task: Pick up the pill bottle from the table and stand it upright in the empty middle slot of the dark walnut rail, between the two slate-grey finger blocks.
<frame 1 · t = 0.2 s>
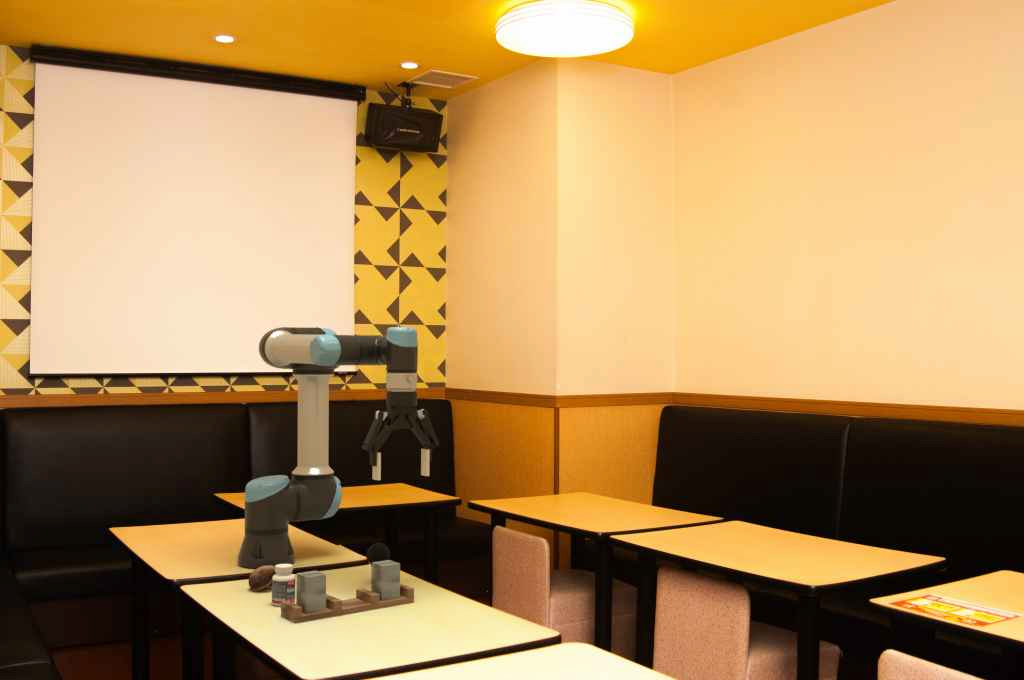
hand: (401, 477, 245), 28 cm above the table, fingers open, 13 cm apart
rail: (349, 608, 228), on the table
mushroom: (262, 590, 246), on the table
pill bottle: (283, 604, 232), on the table
black round piece: (378, 583, 253), on the table
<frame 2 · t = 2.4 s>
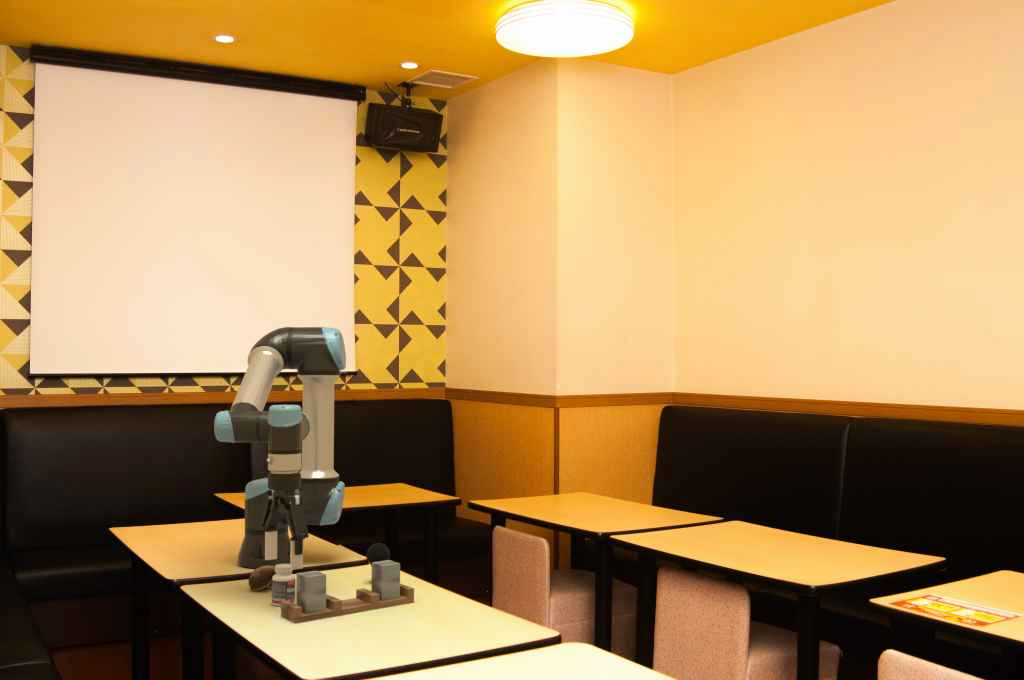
hand: (283, 564, 232), 9 cm above the table, fingers open, 13 cm apart
nothing on the table moved.
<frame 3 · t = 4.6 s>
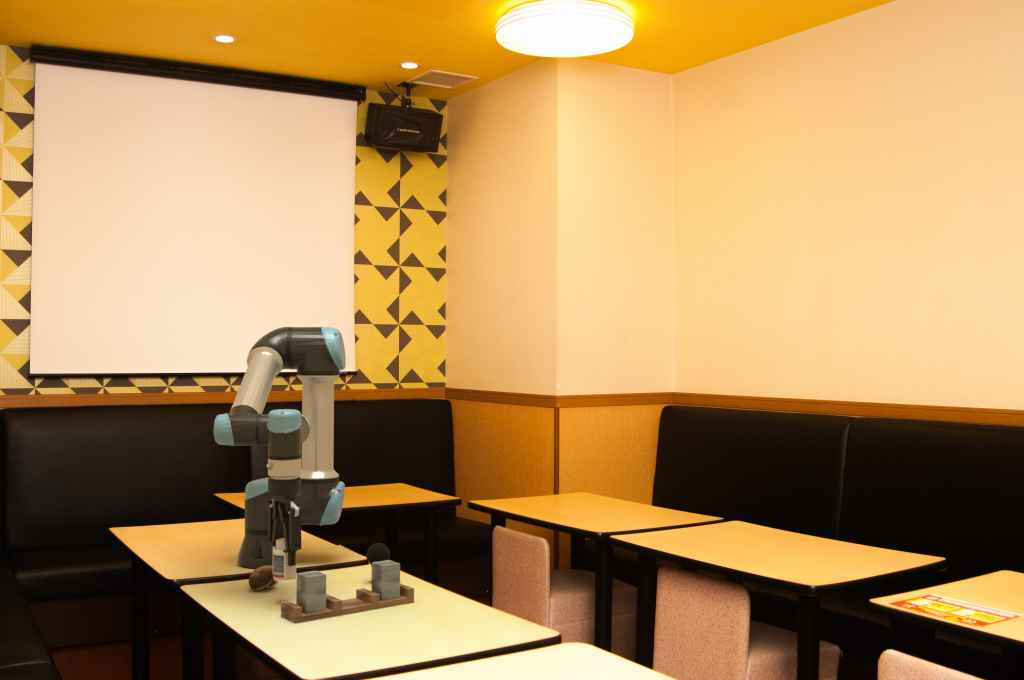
hand: (284, 576, 233), 6 cm above the table, fingers closed on pill bottle, 5 cm apart
pill bottle: (284, 578, 233), point 6 cm above the table, touching gripper
everything else where it was.
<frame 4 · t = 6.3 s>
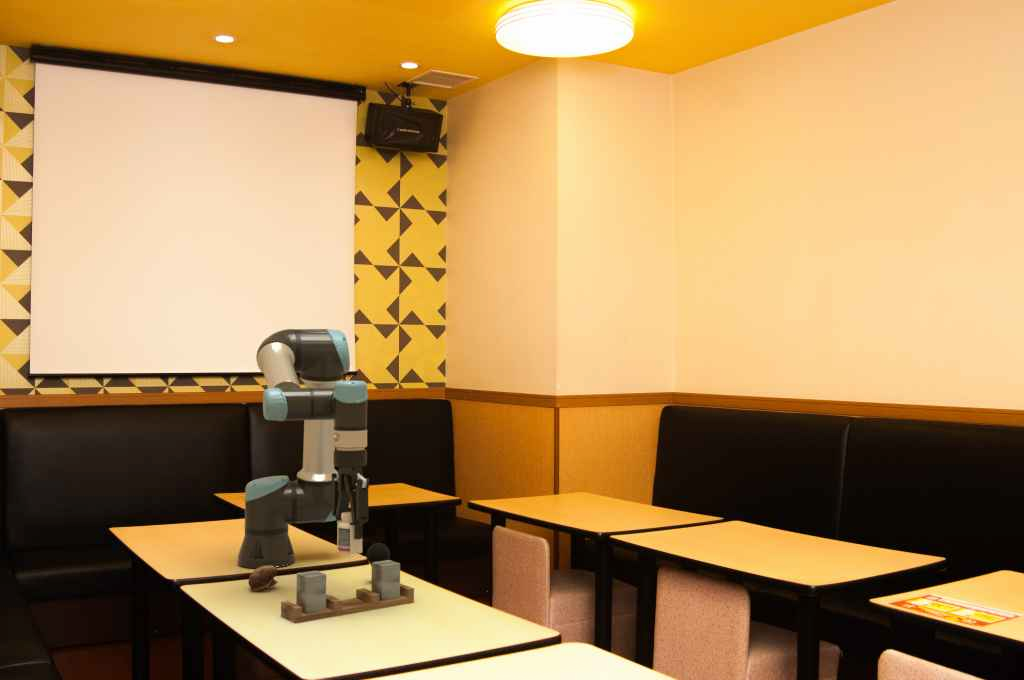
hand: (349, 550, 228), 13 cm above the table, fingers closed on pill bottle, 5 cm apart
pill bottle: (349, 553, 228), point 13 cm above the table, touching gripper
everything else where it was.
when the fingers open (2 cm above the table, at t = 8.5 s): pill bottle stays where it is, resting on rail.
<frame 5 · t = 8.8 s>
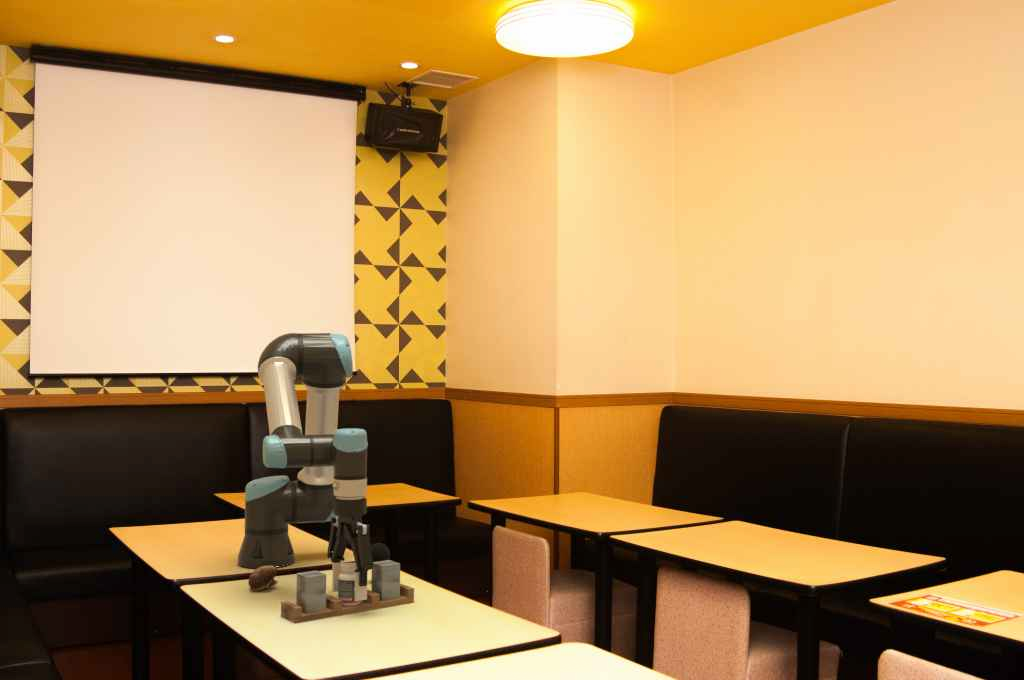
hand: (349, 595, 228), 3 cm above the table, fingers open, 10 cm apart
pill bottle: (349, 604, 228), point 1 cm above the table, touching rail
everything else where it was.
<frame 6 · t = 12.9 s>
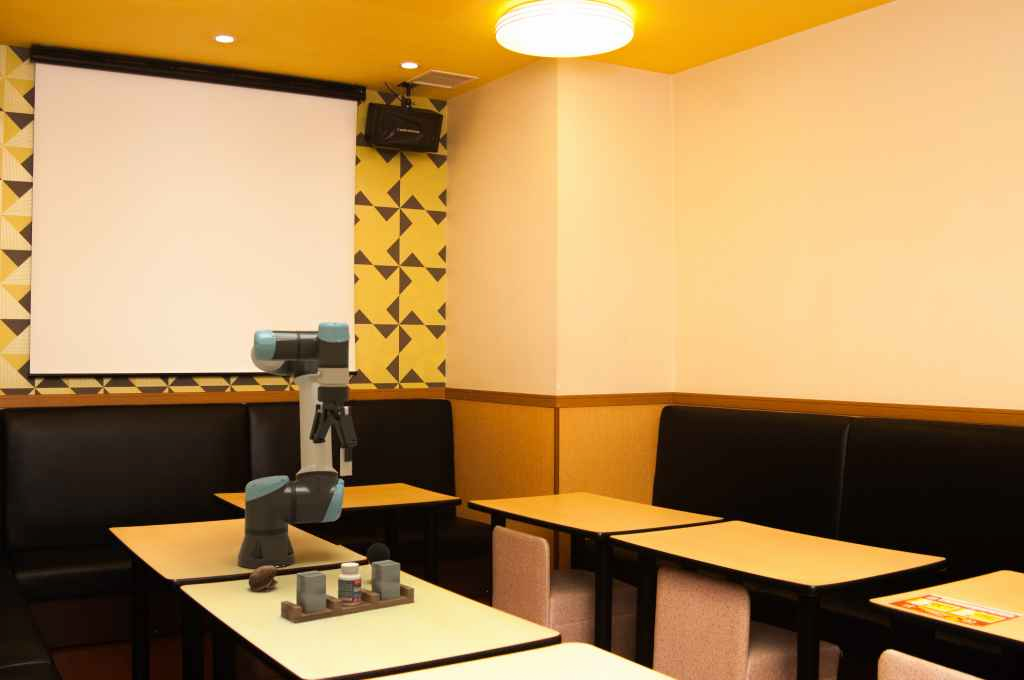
hand: (332, 472, 246), 29 cm above the table, fingers open, 13 cm apart
nothing on the table moved.
at the end: pill bottle 0.1 cm off-centre on the rail, point 1.0 cm above the rail's base; pill bottle tilted 0°; the gripper is holding nothing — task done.
